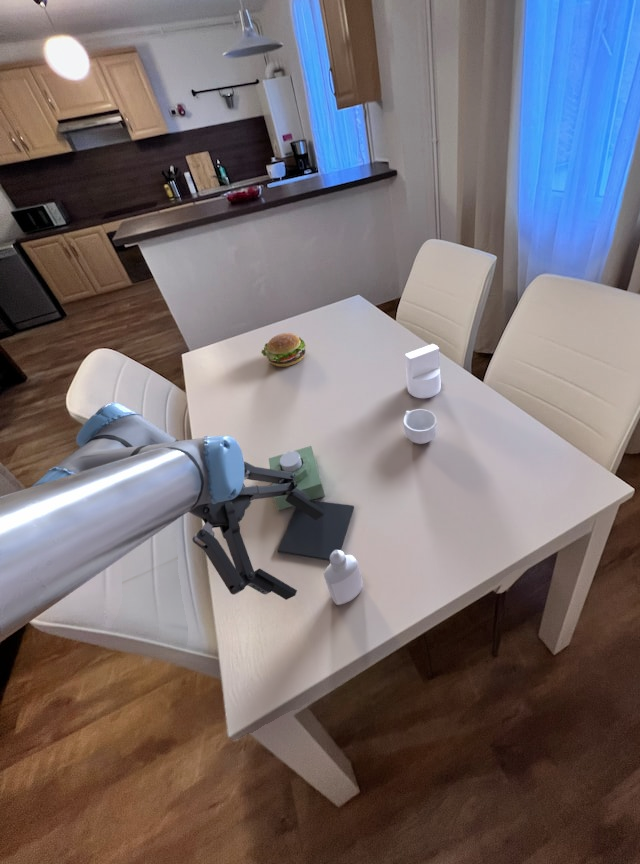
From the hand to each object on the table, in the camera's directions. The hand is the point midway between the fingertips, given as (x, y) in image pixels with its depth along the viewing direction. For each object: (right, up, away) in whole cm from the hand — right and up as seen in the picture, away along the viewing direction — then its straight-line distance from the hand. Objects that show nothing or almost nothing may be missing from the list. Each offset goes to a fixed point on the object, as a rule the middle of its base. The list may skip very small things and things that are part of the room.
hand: (307, 552), depth 64 cm
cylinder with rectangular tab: (+26, +25, +47) cm, 60 cm away
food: (-16, +35, +71) cm, 81 cm away
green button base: (-6, +5, +26) cm, 27 cm away
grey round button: (-6, +9, +23) cm, 25 cm away
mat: (0, -2, +15) cm, 16 cm away
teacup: (+22, +14, +33) cm, 42 cm away
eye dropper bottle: (+6, -9, +5) cm, 12 cm away
